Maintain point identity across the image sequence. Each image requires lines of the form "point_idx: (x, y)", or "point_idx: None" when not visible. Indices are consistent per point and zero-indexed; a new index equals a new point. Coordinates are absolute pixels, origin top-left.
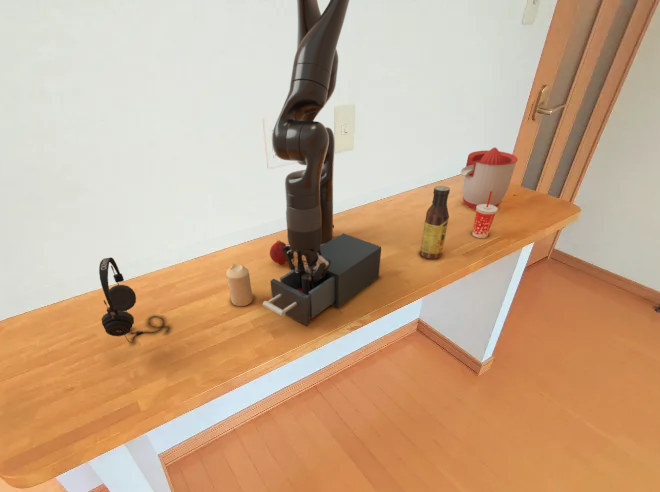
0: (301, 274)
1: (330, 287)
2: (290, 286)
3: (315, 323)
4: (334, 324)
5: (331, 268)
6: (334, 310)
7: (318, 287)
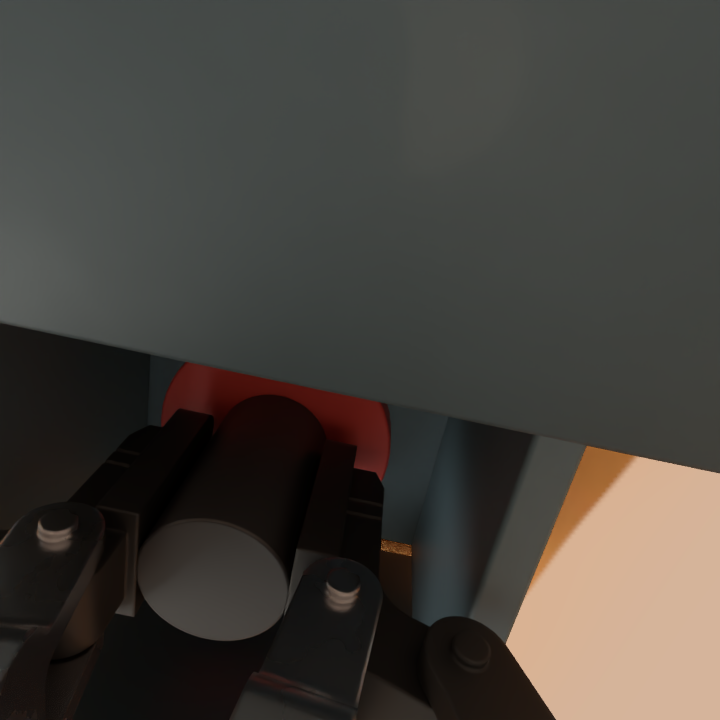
0: (123, 579)
1: None
2: None
3: None
4: (591, 468)
5: (501, 328)
6: None
7: None
